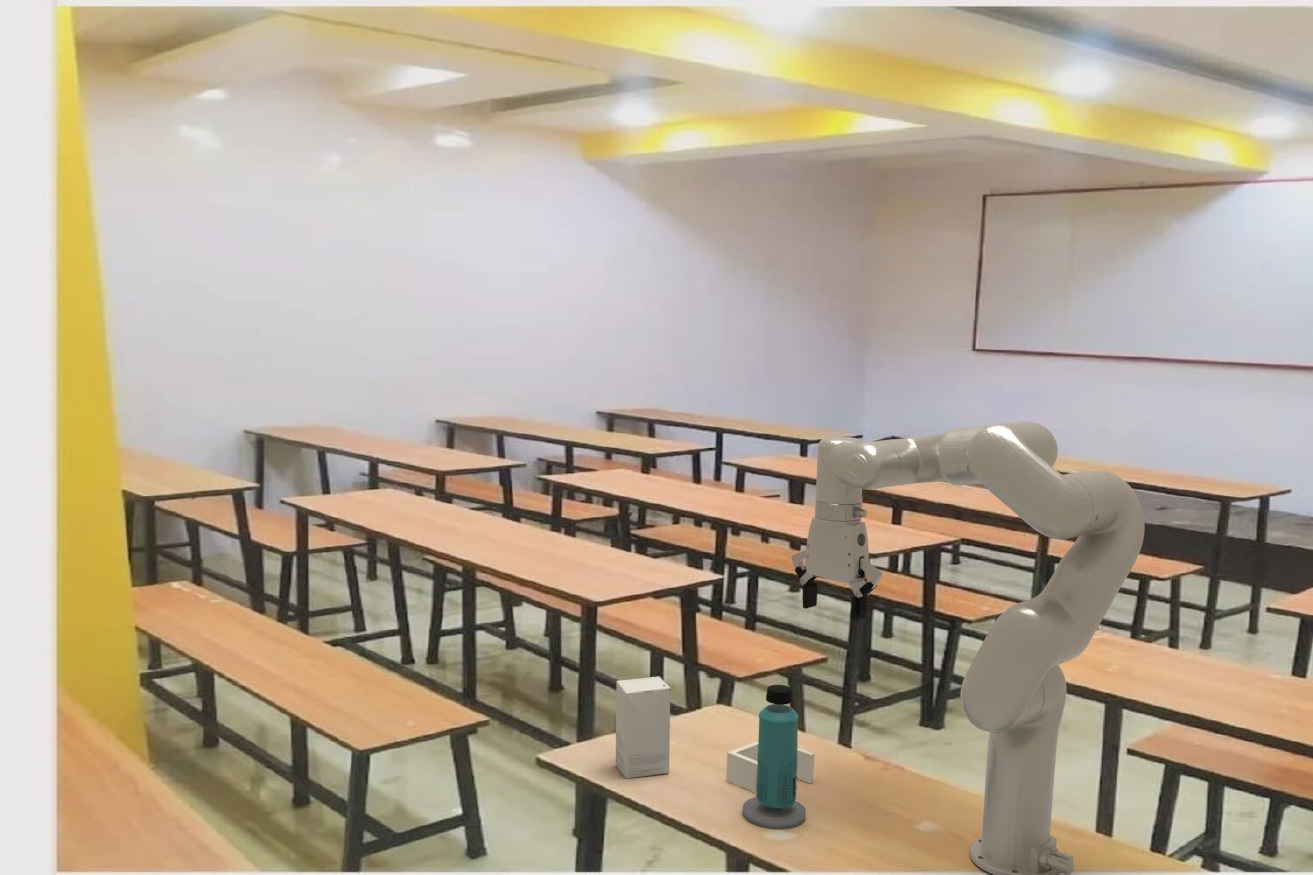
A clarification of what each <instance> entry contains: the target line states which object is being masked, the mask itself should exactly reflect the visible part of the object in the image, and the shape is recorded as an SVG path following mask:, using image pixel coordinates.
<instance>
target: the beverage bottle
mask: <svg viewBox="0 0 1313 875" xmlns="http://www.w3.org/2000/svg"><path fill="white" fill-rule="evenodd" d="M765 701H766V702H768V703H770V704H769V705H768V704H767V705H766V706H765V707H764V708H763V709H761V710H760V711H759V713H758V740H757V741H758V756H757V757H758V761H757V766H756V768H757V773H756V774H757V783H756V790H757V791H756V792H757V793H756V795H755V797H757V800H758V802H759V803H761V804H762V805H765V806H767V807H772V808H786V807H789V806H792V805H793V804H794V803H795V801H797V790H798V786H797V777H796V775H797V769H798V768H797V766H798V765H797V764H798V763H797V762H798V761H797V760H798V759H797V747H799V744H798V738H799V736H798V732H799V731H798V730H799V728H798V727H799V726H798V725H799V717H800V716H799V714H798V712H796V710H794V708H792V707H791V706H789V704H791V703H792V702H793V689H792V688H791V687H790V686H787V685H783V684H771V685H769V686H768V687H767V688H766V694H765Z"/></svg>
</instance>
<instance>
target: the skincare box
mask: <svg viewBox="0 0 1313 875" xmlns="http://www.w3.org/2000/svg"><path fill="white" fill-rule="evenodd" d="M615 684H616V685H615V686H616V691H615V692H616V698H615V699H616V700H615V701H616V704H615V706H616V708H615V717H616V718H615V766H616V767H617V769H618V770H619V772H620V773H621V774H622V775H623V777H624V778H625V779H626V780H627V779H633V778H643V777H649V776H657V775H664V774H669V773H670V743H671V741H670V738H671V737H670V734H671V730H670V729H671V691H672V688H671V686H669V685H668V684H667V683H666V681H664V680H663V679H662V677H661V676H659V675H658V676H651V677H642V678H640V677H639V678H632V679H624V680H622V679H621V680H620V679H619V680H616V683H615Z"/></svg>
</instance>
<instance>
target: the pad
mask: <svg viewBox="0 0 1313 875" xmlns="http://www.w3.org/2000/svg"><path fill="white" fill-rule="evenodd" d="M806 814H807V810H806V808H805V806H804V805H803V804H802V803H800V802H799V801H797V800H795V803H794V804H793V805H792V806H789V807H786V808H772V807H767V806H765V805H762V804H761V803H759V802H758V800H757V797H756V796H755V797H754V796H753V797H751V798H749V799H747V800H745V801H744V803H743V804H742V816H743V818H744V819H745V820H746V821H747V822H749V824H752V825H755V826H757V827H761V828H765V829H771V830H786V829H791V828H792V829H793V828H795V827H796V828H797V827H799V826H801V825H802V824H803V823H804V822H805V821H806V816H807V815H806Z"/></svg>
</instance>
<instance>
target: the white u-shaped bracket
mask: <svg viewBox="0 0 1313 875" xmlns="http://www.w3.org/2000/svg"><path fill="white" fill-rule="evenodd" d="M726 753H727V755H726V773H725V774H726V777H725V778H726V779H725V780H726V782H729V783H732V784H734V785H736V786H738V787H741V788H743V789H745V790H747V791H749V792H752V793H753V794H757V792H756V791H757V790H756V783H757V774H756V773H757V768H756V766H757V761H758V757H757V756H758V740H757V741H755V742H754V741H753V742H752V743H748V744H746V745H744V746H743V745H742V746H741V747H738V748H735V749H733V750H729V751H727V752H726ZM797 759H798V760H797V761H798V762H797V763H798V764H797V765H798V766H797V768H798V769H797V775H796V777H797V778H796V780H799V781H802V780H803V782H805V783H808V784H812V783H814V773H815V772H814V771H815V753H814V752H811V751H808V750H806V749H803V748H801V747H799V746H797Z"/></svg>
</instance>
